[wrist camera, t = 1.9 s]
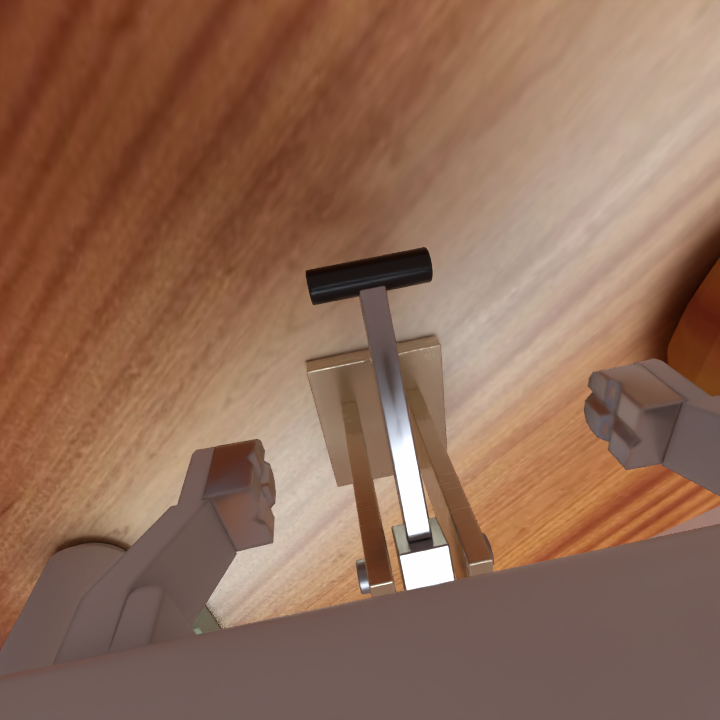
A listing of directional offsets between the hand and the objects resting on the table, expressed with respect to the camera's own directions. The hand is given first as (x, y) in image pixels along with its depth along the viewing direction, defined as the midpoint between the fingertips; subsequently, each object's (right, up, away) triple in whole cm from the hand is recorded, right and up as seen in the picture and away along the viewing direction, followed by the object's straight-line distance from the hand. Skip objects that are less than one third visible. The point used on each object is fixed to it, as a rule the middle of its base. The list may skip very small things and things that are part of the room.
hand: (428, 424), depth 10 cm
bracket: (0, -2, +18) cm, 18 cm away
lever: (0, -2, +9) cm, 9 cm away
